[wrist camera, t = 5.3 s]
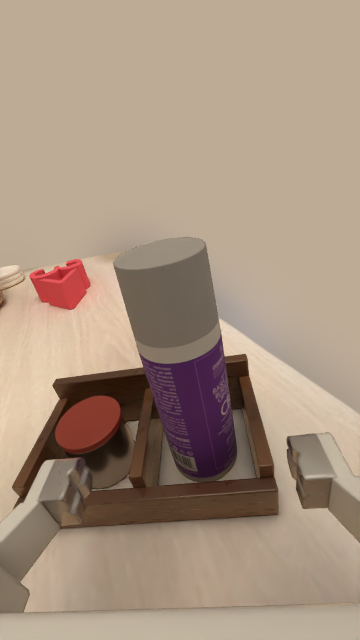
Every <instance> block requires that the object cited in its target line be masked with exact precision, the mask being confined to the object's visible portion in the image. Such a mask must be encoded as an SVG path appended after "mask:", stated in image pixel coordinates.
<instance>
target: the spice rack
mask: <svg viewBox="0 0 360 640" xmlns="http://www.w3.org/2000/svg"><path fill="white" fill-rule="evenodd" d="M224 358H225V365H226V373H227V380H228V387H229V394H230V402H231V409H239V408H242V410H243V415H244V419H245V424H246V429H247V433H248V438H249V443H250V447H251V452H252V457H253V461H254V466H255V471H256V475H257V478H252V479H239V480H227V481H214V482H202V483H189V484H177V485H164V486H158V477H159V466H160V456H161V446H162V435H163V425H162V422H161V419H160V416H159V413H158V410H157V407H156V404H155V401H154V397H153V394H152V391H151V388H150V385H149V382H148V379H147V376H146V373H145V370H144V367H143V368H136V369H128V370H121V371H113V372H106V373H98V374H91V375H83V376H76V377H68V378H60V379H56V380H55V382H54V383H53V385H52V386H53V388H54V389H55V391H56V393H57V395H58V397H59V398H60V399H59V401H58V403H57V405H56V406H55V408H54V410H53V412H52V414H51V416H50V418H49V419H48V421H47V423H46V425H45V427H44V429H43V430H42V432H41V434H40V436H39V438H38V440H37V441H36V443H35V445H34V447H33V449H32V451H31V453H30V454H29V456H28V458H27V460H26V462H25V464H24V465H23V467H22V469H21V471H20V473H19V475H18V476H17V478H16V480H15V482H14V484H13V486H12V488H13V490H14V491H15V492H16V493H17V494H18V495H19V496H20V497H19V498H18V500H17V502H16V504H15V506H14V508H16V507H17V506H18V505H19V504H20V503H24V501H25V499H26V496H27V494H28V492H29V490H30V488H31V486H32V484H33V482H34V480H35V478H36V476H37V474H38V472H39V470H40V468H41V466H42V464H43V463H44V462H45V461H46V460H54V459H67V458H68V457H67V455H66V454H65V452H64V450H63V449H62V448H61V447H60V446H59V444H58V443H57V441H56V437H55V432H56V427H57V425H58V423H59V421H60V419H61V418H62V416H63V415H64V414H65V413H66V412H67V411H68V410H69V409H70V408H71V407H73V406H74V405H75V404H77V403H79V402H80V401H82V400H85V399H87V398H90V397H94V396H109V397H112V398H114V399H115V400H116V401H117V402H118V403H119V405H120V408H121V410H122V414H123V417H124V419H125V421H130V420H139V419H140V421H139V426H138V431H137V437H136V442H135V447H134V452H133V458H132V463H131V468H130V473H129V479H130V481H131V483H132V485H133V487H134V488H127V489H114V490H102V491H91V492H90V494H89V495H88V496H87V498H86V499H85V502H86V505H87V506H86V509H85V512H84V516H83V519H82V522H81V524H77V525H67V526H60V527H61V528H71V527H86V526H102V525H117V524H133V523H149V522H164V521H180V520H195V519H211V518H227V517H242V516H258V515H273V514H279V504H278V488H277V484H276V480H275V478H274V463H273V460H272V456H271V453H270V449H269V445H268V442H267V438H266V435H265V431H264V427H263V424H262V420H261V417H260V413H259V409H258V406H257V402H256V399H255V395H254V392H253V388H252V384H251V381H250V377H249V370H248V360H247V356H246V354H241V355H234V356H226V357H224ZM14 508H13V509H14Z"/></svg>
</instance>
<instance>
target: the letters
mask: <svg viewBox="0 0 360 640" xmlns="http://www.w3.org/2000/svg"><path fill="white" fill-rule="evenodd" d="M66 265H67V267H59V266H56V267H54V268H55V269H54V270H53V271H51V272H48V273H45V272H44V270H43V269H41V270H37V271H35V272H33V273H31V274H30V279H31V281H32V283H33V285H34V287H35V289H36V291H37V293H38V295H39V297H40V299H41V301H42V302H49V304H50V305H53V306H57V307H62V308H66V309H74V308H75V306H76V305H77V304H78V303H79V301H80V300H81V299H82V298H83V296H84V295H85V294H86V290H85V289H87V288H88V287H89V286H90V282H89V280H88V277H87V274H86V272H85V269H84V266H83V264H82V261H81V260H79V259H75V260H71V261H68V262H66Z"/></svg>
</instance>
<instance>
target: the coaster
mask: <svg viewBox="0 0 360 640" xmlns="http://www.w3.org/2000/svg"><path fill="white" fill-rule="evenodd" d="M23 279H24V275H23V274H22V271H21V270H20V267H19V266H17V265H12V266H6V267H2V268H0V289H1V290H3V289H6V288H9V287H11V286H14V285H16V284H18V283H19V282H21V281H22V280H23Z"/></svg>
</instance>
